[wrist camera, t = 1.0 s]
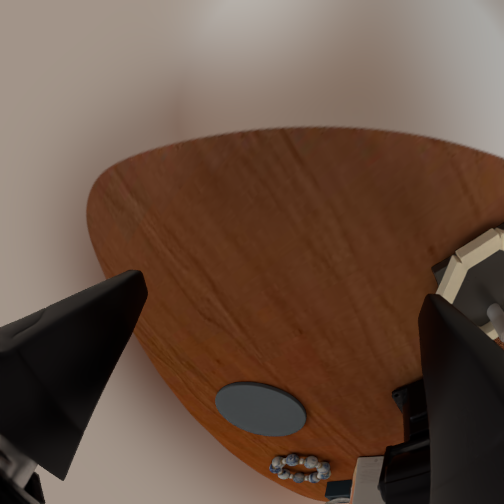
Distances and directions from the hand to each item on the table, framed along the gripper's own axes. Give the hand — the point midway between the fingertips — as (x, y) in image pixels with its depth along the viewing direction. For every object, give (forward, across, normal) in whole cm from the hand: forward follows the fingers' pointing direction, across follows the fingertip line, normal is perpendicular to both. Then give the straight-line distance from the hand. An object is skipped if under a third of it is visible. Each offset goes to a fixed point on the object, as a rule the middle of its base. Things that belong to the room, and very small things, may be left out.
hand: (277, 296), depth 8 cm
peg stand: (+12, -16, +6) cm, 21 cm away
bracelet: (+10, -3, +42) cm, 43 cm away
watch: (+9, -12, +50) cm, 52 cm away
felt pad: (+11, +4, +27) cm, 29 cm away
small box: (+10, -14, +40) cm, 43 cm away
